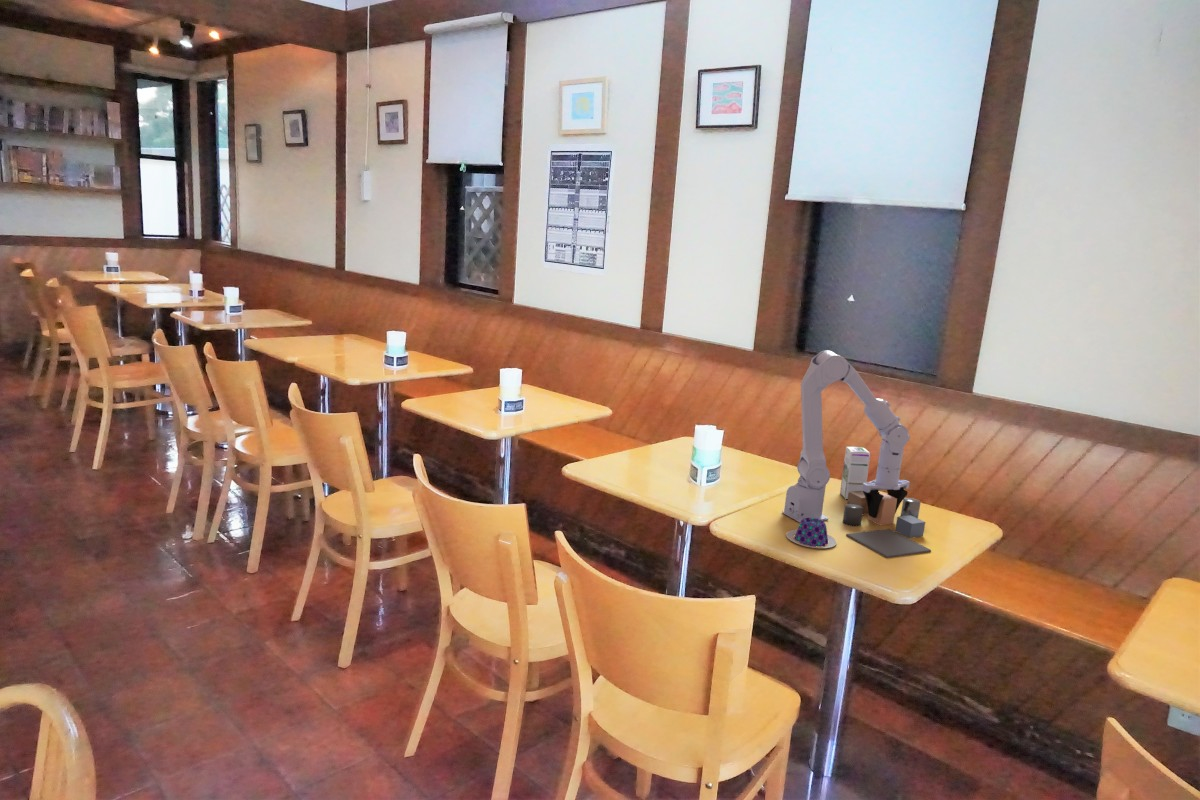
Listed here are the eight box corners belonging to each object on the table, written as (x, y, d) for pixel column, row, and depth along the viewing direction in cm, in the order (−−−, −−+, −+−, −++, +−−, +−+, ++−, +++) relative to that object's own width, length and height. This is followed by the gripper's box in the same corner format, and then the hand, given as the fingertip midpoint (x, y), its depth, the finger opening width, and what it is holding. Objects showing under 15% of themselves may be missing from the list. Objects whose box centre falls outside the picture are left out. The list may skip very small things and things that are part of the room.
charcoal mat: (886, 558, 187) (887, 556, 187) (846, 535, 199) (846, 533, 199) (930, 551, 193) (931, 549, 193) (888, 530, 205) (888, 528, 205)
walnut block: (858, 515, 216) (861, 497, 215) (846, 508, 220) (848, 491, 219) (873, 513, 218) (875, 496, 217) (860, 507, 222) (862, 490, 221)
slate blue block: (909, 538, 201) (912, 523, 200) (895, 531, 206) (897, 516, 205) (922, 536, 203) (925, 522, 202) (908, 529, 207) (910, 515, 207)
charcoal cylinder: (850, 527, 206) (853, 510, 205) (838, 520, 210) (841, 504, 209) (864, 525, 208) (867, 509, 207) (852, 519, 212) (854, 503, 211)
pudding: (780, 531, 200) (782, 511, 199) (826, 533, 201) (829, 513, 200) (793, 550, 189) (796, 529, 188) (843, 552, 190) (846, 531, 188)
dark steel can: (908, 523, 212) (912, 503, 211) (896, 517, 216) (899, 498, 215) (921, 522, 214) (924, 502, 212) (908, 516, 218) (911, 497, 216)
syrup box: (864, 501, 227) (872, 452, 224) (844, 499, 227) (851, 451, 224) (858, 494, 233) (865, 447, 230) (838, 493, 233) (845, 445, 230)
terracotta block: (880, 525, 209) (884, 500, 207) (868, 519, 213) (871, 494, 211) (893, 523, 211) (897, 498, 209) (881, 517, 215) (884, 493, 213)
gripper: (878, 473, 202) (871, 523, 205) (921, 469, 208) (913, 518, 211) (859, 464, 208) (852, 513, 211) (901, 461, 214) (893, 509, 217)
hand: (881, 515), depth 211 cm, fingers open, 6 cm apart
